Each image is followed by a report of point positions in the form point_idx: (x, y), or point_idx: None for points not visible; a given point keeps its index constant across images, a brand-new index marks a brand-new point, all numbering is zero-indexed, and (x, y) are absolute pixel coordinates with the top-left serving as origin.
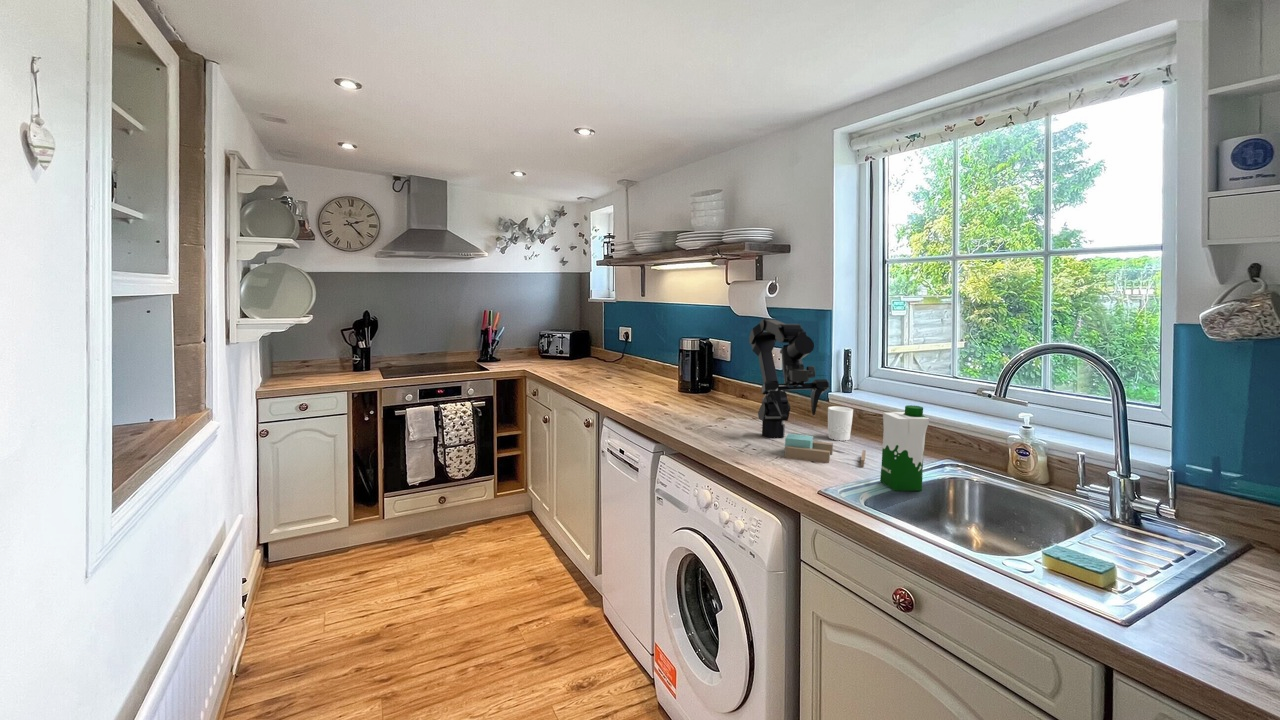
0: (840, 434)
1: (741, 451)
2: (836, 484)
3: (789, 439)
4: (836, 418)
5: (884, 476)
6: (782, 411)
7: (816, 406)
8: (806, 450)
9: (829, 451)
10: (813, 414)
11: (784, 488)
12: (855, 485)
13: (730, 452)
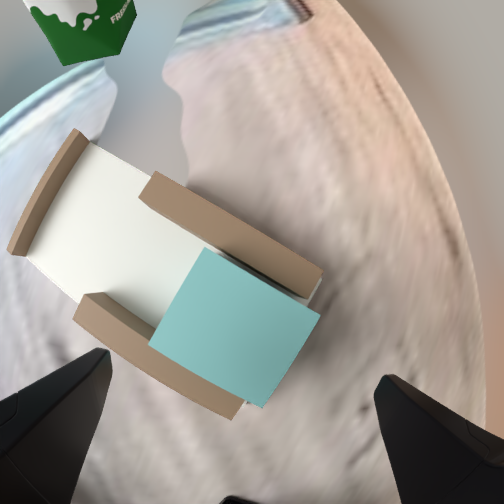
0: None
1: (412, 377)
2: (242, 39)
3: (300, 304)
4: None
5: (125, 22)
6: (403, 391)
7: (46, 378)
8: (239, 220)
9: (146, 186)
10: (109, 353)
11: (374, 47)
12: (197, 33)
13: (443, 361)
